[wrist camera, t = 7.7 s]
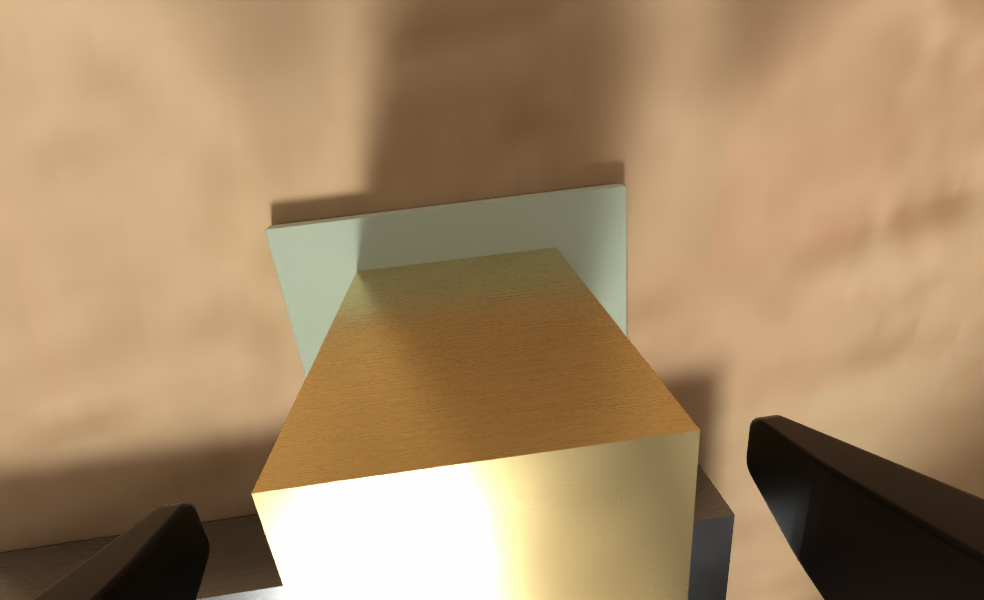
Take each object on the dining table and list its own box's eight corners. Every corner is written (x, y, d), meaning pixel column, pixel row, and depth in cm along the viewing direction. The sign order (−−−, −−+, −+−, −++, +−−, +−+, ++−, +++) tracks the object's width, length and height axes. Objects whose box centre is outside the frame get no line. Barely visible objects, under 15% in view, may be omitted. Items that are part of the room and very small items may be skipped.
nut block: (556, 246, 12) (700, 429, 5) (564, 413, 14) (679, 704, 7) (356, 270, 12) (252, 493, 5) (390, 437, 13) (345, 762, 7)
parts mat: (620, 183, 12) (626, 185, 11) (621, 431, 14) (626, 440, 14) (270, 225, 11) (265, 229, 11) (338, 473, 14) (335, 483, 14)
